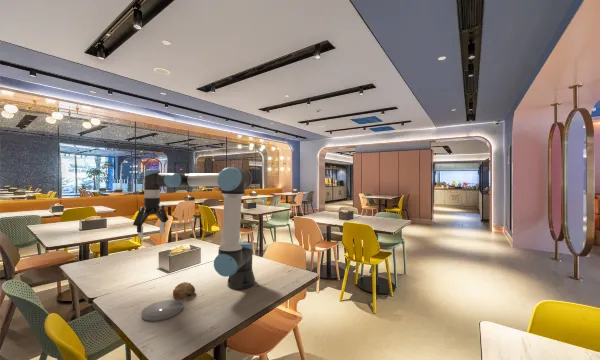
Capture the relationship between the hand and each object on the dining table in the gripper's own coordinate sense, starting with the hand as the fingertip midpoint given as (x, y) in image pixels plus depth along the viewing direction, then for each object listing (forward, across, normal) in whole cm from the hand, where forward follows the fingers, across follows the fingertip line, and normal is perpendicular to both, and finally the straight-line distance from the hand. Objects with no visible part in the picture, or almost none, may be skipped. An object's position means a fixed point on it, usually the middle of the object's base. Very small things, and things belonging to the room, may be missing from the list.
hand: (151, 235), depth 139 cm
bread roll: (+27, +4, +26) cm, 38 cm away
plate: (+27, +20, +29) cm, 44 cm away
